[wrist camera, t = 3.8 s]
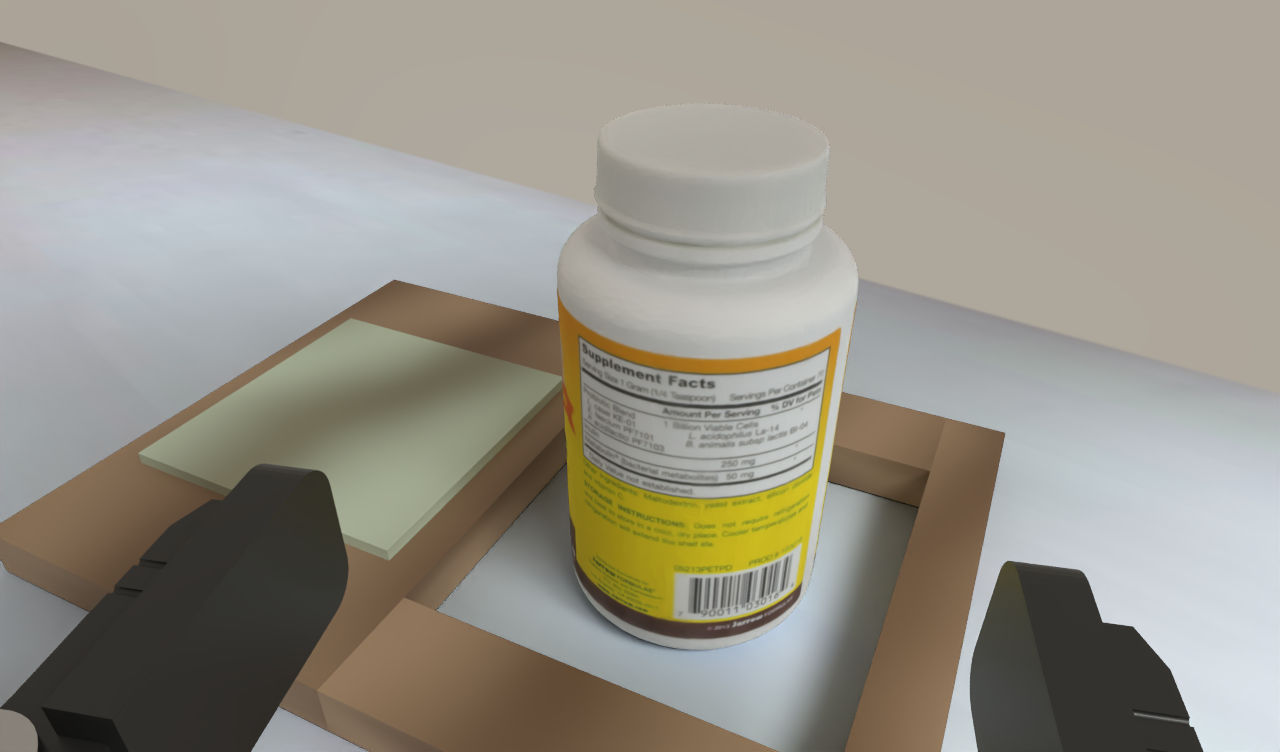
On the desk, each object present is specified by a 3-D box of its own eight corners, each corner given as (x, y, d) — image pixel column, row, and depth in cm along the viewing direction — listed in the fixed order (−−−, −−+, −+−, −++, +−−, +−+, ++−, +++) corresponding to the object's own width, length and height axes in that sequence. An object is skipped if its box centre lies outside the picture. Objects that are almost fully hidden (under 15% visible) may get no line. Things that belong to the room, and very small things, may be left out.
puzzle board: (994, 468, 23) (1008, 423, 23) (882, 1007, 13) (899, 958, 12) (399, 310, 31) (393, 271, 30) (7, 571, 20) (-20, 521, 19)
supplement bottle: (655, 463, 24) (666, 75, 18) (848, 546, 21) (930, 121, 15) (519, 590, 20) (479, 143, 14) (735, 711, 17) (791, 223, 11)
